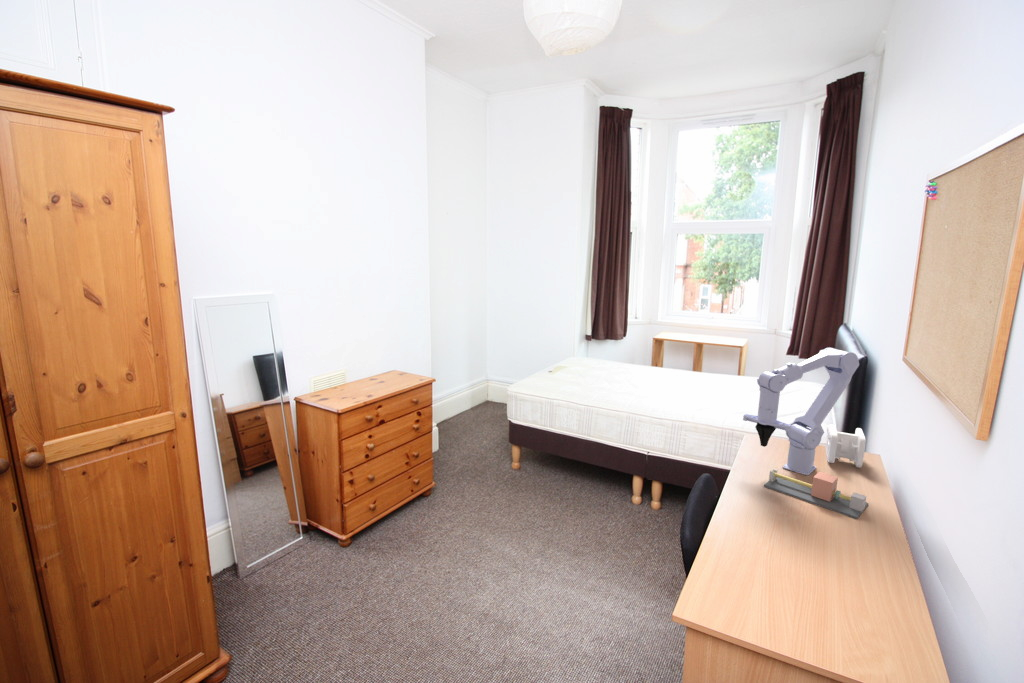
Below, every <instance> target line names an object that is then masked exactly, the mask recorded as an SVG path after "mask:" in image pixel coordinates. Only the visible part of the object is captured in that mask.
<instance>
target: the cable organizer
mask: <svg viewBox="0 0 1024 683" xmlns="http://www.w3.org/2000/svg"><path fill="white" fill-rule="evenodd" d="M826 432H827V435H826V441H825V447H824V448H825V455H826V460H827V462H828V463H831V464H834V463H835V461H836V459H837V460H839V461H840V460H841V458H843V459H848V460H849V462H854V465H855V468H862V467H863V464H864V457H865V450H866V443H867V440H866V436H865V433H864V431H863V429H862V428H861V427H856V428H855V431H854V433H848V432H842V431H837V426H836V425H835V424H828V425H827V428H826Z"/></svg>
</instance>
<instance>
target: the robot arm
mask: <svg viewBox="0 0 1024 683" xmlns="http://www.w3.org/2000/svg"><path fill="white" fill-rule="evenodd" d="M859 366H860V362H859V358H858V355H857V354H856V353H855V352H852V351H846V350H841V349H838V348H834V347H830V346H829V347H828V346H827V347H826V348H824V349H820V350H819V352H818V353H817V354H815V355H813V356H811V357H809V358H807V359H805V360H804V361H802V362H799V363H798V364H797V363H795V362H787V363H786V364H785V365H783V366H781V367H779V368H775V369H773V370H772V371H768V370H767V371H764V372H762V373H761V374H760V375H759V377H758V378H757V379H756V380H757V385H758V387H759V400H758V409H757V410H758V411H757V415H754V414H748V413H745V414H743V418H742V421H745V422H751V423H756V425H755V430H756V432H757V434H758V437H759V442H760V446H761V447H764V448H765V447H767V446H768V443H769V440H770V439H771V437H772V434H773V433H774V432H775V431H776V429H778V430H781V431H785V435H786V436H787V438H788V441H789V447H788V455H787V462H786V463H785V464H784V465H783V466H782V469H785V470H787V471H791V472H795V473H797V474H798V473H799V474H800V475H804V476H810V475H811V473H813V472H814V471H815V470H816V469H817V466H816V465H815V457H816V456H815V455H816V449H817V447H818V446H819V445H820V443H821V441H822V437H823V435H824V433H825V431H824V428H823V427H822V424H823V422H824V421H825V419H826V418H827V416H828V415H829V413H830V412H831V411H832V409H833V408H834V406H835V404H836V403H837V402H838V400H839V399H840V397H841V396H842V395H843V393H844V391H845V390H846V388H847V387H848V386H849V384H850V382H851V380H852V377H853V375H854V374H855V372H856V371H857V369H858V368H859ZM822 367H824V369H825V370H826V372H827V373H828V375H829V376H828V377H829V378H828V380H827V381H826V383H825V384H824V386H823V387H822V389H821V390H820V392H819V393H818V395H817V396H816V398H815V399H814V401H813V402H812V403H811V404H810V407H809V408H808V410H806V412H805V414H804V415H802V416H799V417H798V416H797V417H796V418H795V419H794V421H792V422H791V423H785V422H783V421H780V420H778V419H777V418H778V410H779V405H780V404H779V403H780V402H779V401H780V394H781V392H782V391H783V390H784V389H785V387H786V386H787V385H789V384H791V383H793V382H796V381H798V380H800V379H802V378H803V377H804V376H803V375H804V374H806V373H808V372H811V371H812V372H813V371H814V370H817V369H820V368H822Z"/></svg>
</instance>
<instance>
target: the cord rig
mask: <svg viewBox="0 0 1024 683" xmlns="http://www.w3.org/2000/svg"><path fill="white" fill-rule="evenodd" d="M768 476H769V477H768V481H767V482H766V483H764V484H763V488H767V489H770V490H772V489H773V490H772V491H776V492H779V493H782V494H784V495H788V496H789V497H793V498H796V499H797V500H798V499H799V500H800V501H801V500H802V501H803V502H806V503H810V504H812V505H815V506H819V507H822V508H824V509H827V510H831V511H833V512H836V513H838V514H841V515H844V516H848V517H850V518H852V519H855V520H858V519H859V517H860V516H861V515H862V514H863V512H864V511H865V510H866V508H867V507H868V506H869V503H868V501H867V496H866V495H865V494H861V493H858V492H856V491H854V492H853V493H852V494H851V495H850V496H848V495H845V494H842V493H841V490H837V489H836V492H833V494H832V495H833V496H835V497H834V498H833V499H832V500H831V501H830V502H829V501H826V500H823V499H820V498H817V497H814V496H811V491H812V484H813V483H808V482H805V481H803V480H799V479H796V478H793V477H790V476H788V475H783V474H780V473H778V469H776V468H772V470H770V471H769V475H768ZM866 501H867V502H866Z"/></svg>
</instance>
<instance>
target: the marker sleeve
mask: <svg viewBox="0 0 1024 683" xmlns="http://www.w3.org/2000/svg"><path fill="white" fill-rule="evenodd" d="M838 480H839V476H835V475H832V474H828V473H826V472H822V471H818V472H817V473H816V474H815V475H814V476H813V479H812V483H811V484H812V491H811V496H814V497H817V498H820V499H823V500H826V501H829V502H830V501H831V500H832V499H833V498H834V497H835V496H833V495H832V494H833V492H836V491H837V487H838Z"/></svg>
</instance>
